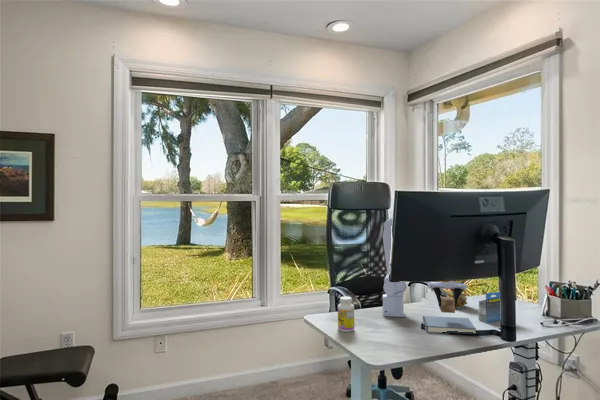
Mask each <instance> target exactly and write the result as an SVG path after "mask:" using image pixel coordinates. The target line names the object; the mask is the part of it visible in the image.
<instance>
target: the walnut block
mask: <svg viewBox="0 0 600 400" xmlns="http://www.w3.org/2000/svg"><path fill="white" fill-rule="evenodd" d="M439 310H440V312H441V313H445V314H446V313H448V314H450V313H451V314H456V308H455V300H454V299H453V297H447V296H441V307H439Z"/></svg>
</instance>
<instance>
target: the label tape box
mask: <svg viewBox="0 0 600 400" xmlns="http://www.w3.org/2000/svg"><path fill="white" fill-rule="evenodd" d="M499 292H500V291H494V292H487V293H485V299H482V300H479V301H478V321H480V322H482V323H485V324H488V323H492V322H496V321H501V313H500V299H499Z"/></svg>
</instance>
